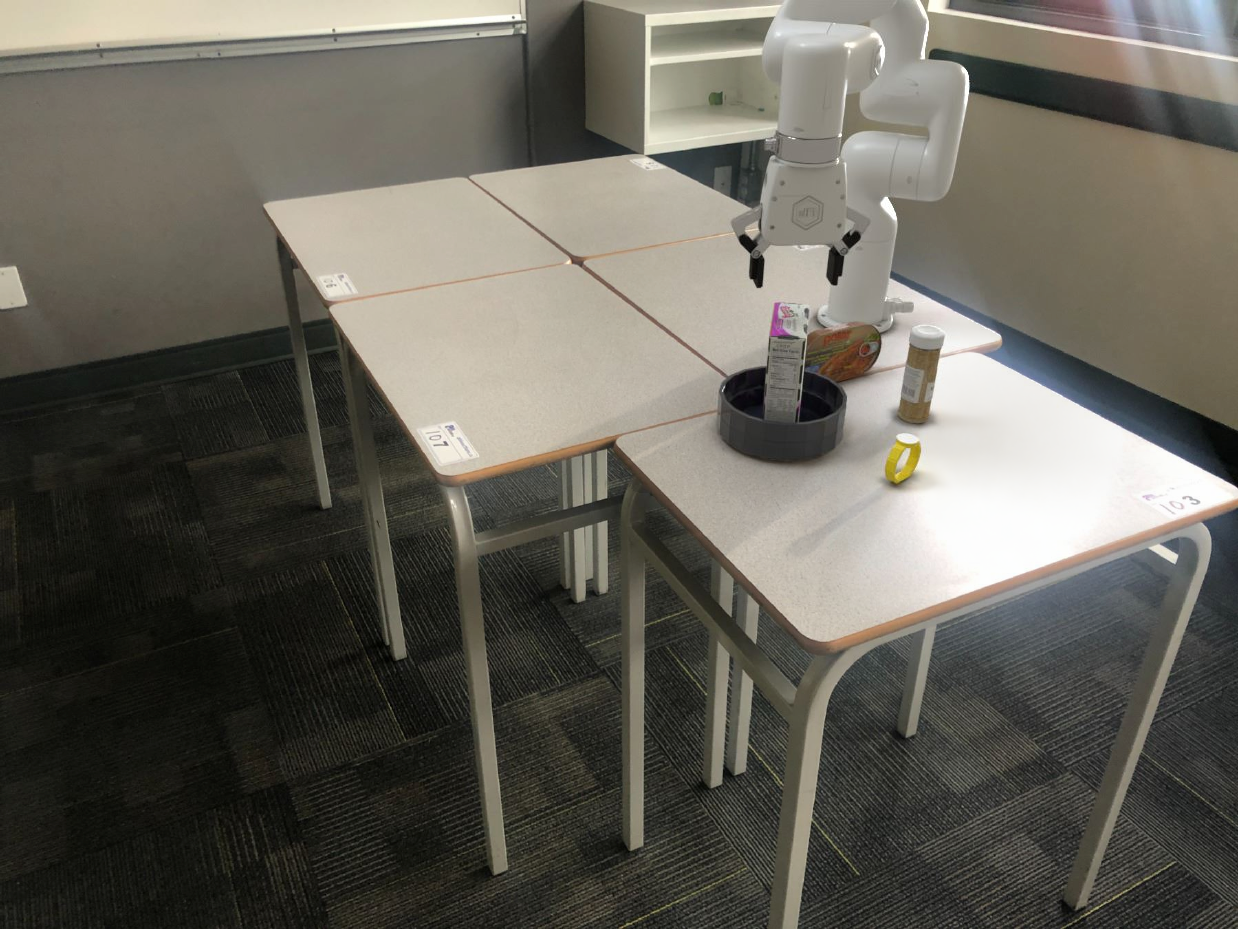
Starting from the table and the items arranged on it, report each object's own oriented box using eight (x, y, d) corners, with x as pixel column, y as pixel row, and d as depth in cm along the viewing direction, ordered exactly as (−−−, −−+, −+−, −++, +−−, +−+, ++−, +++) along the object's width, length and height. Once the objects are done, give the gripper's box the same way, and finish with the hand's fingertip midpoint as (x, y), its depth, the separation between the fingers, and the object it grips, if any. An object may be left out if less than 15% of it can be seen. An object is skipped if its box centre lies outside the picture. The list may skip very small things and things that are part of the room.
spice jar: (934, 422, 140) (952, 335, 133) (905, 426, 140) (920, 338, 132) (919, 407, 144) (935, 321, 137) (890, 410, 143) (905, 324, 136)
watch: (895, 491, 125) (902, 451, 122) (877, 482, 127) (883, 442, 124) (921, 474, 129) (929, 434, 126) (903, 466, 130) (910, 426, 127)
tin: (800, 392, 148) (806, 340, 144) (788, 383, 151) (793, 332, 146) (879, 371, 154) (887, 321, 150) (866, 363, 157) (873, 313, 152)
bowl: (824, 400, 146) (829, 364, 143) (856, 461, 131) (862, 422, 128) (708, 404, 145) (710, 367, 142) (728, 466, 130) (730, 426, 127)
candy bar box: (764, 407, 143) (773, 300, 134) (799, 410, 142) (811, 303, 133) (758, 446, 133) (768, 333, 125) (795, 449, 133) (808, 337, 124)
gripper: (741, 157, 114) (732, 296, 123) (888, 154, 115) (869, 292, 124) (730, 140, 120) (722, 274, 130) (870, 137, 122) (852, 270, 131)
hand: (794, 282), depth 127 cm, fingers open, 9 cm apart
